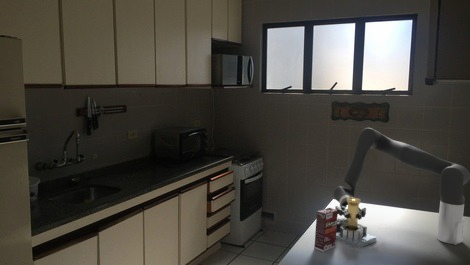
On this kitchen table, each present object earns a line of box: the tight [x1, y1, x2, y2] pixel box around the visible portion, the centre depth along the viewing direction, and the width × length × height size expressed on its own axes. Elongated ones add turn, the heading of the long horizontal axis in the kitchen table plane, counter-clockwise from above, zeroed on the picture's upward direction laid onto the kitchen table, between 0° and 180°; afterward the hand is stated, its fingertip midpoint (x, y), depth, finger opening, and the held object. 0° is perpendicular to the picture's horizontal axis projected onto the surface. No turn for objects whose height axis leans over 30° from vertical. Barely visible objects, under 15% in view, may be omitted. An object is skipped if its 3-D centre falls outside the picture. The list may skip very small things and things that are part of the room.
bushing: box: [346, 197, 361, 230], centre depth 175 cm, size 6×6×14 cm
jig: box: [336, 219, 377, 249], centre depth 176 cm, size 16×13×5 cm
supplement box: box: [313, 207, 339, 253], centre depth 165 cm, size 9×5×16 cm, turn 131°
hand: (353, 217), depth 172 cm, fingers closed on bushing, 4 cm apart
